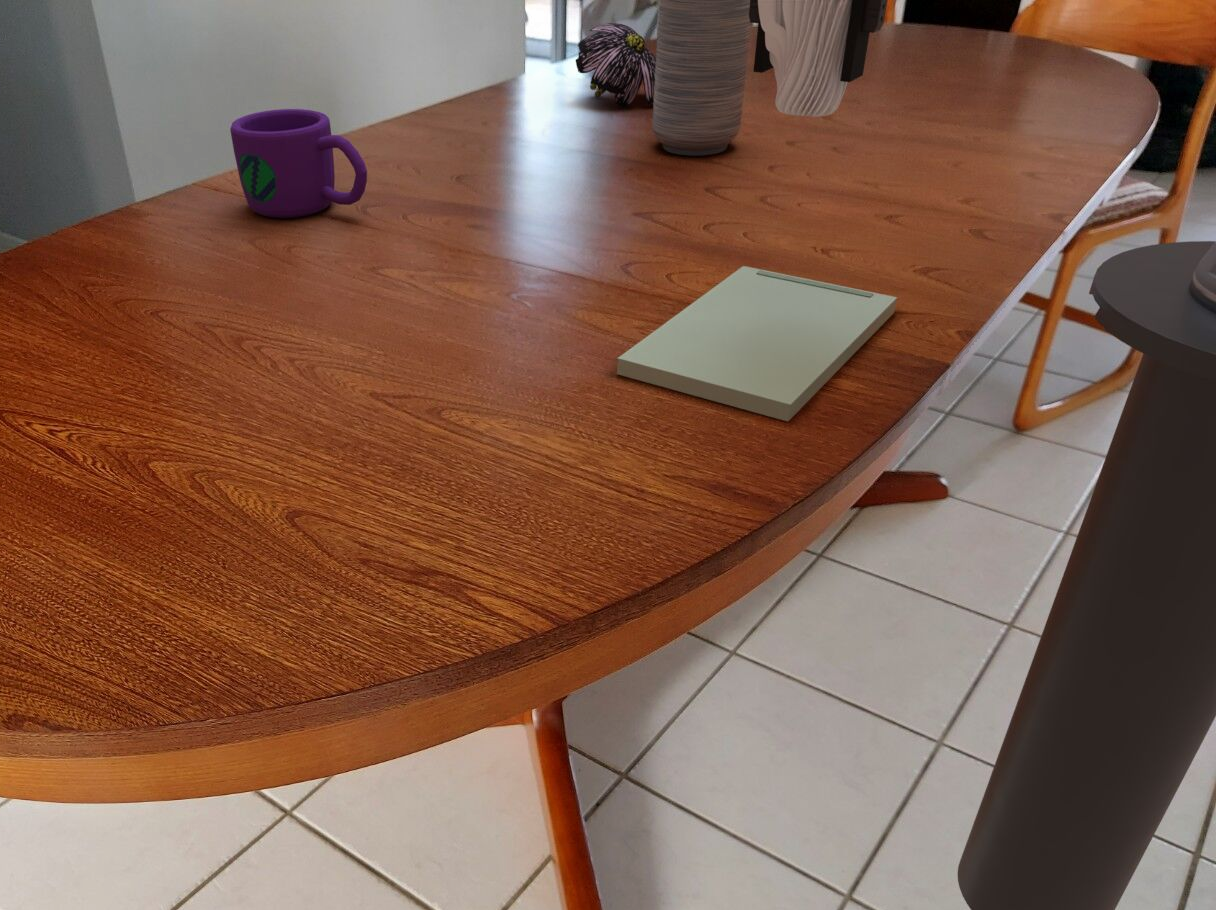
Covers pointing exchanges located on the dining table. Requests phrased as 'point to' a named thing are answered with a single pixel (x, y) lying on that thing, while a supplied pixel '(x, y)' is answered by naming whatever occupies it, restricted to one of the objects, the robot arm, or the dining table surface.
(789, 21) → the shell sculpture
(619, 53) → the decorative flower
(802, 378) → the cutting board
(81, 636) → the dining table surface
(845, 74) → the robot arm
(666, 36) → the vase
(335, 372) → the dining table surface
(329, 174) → the mug
